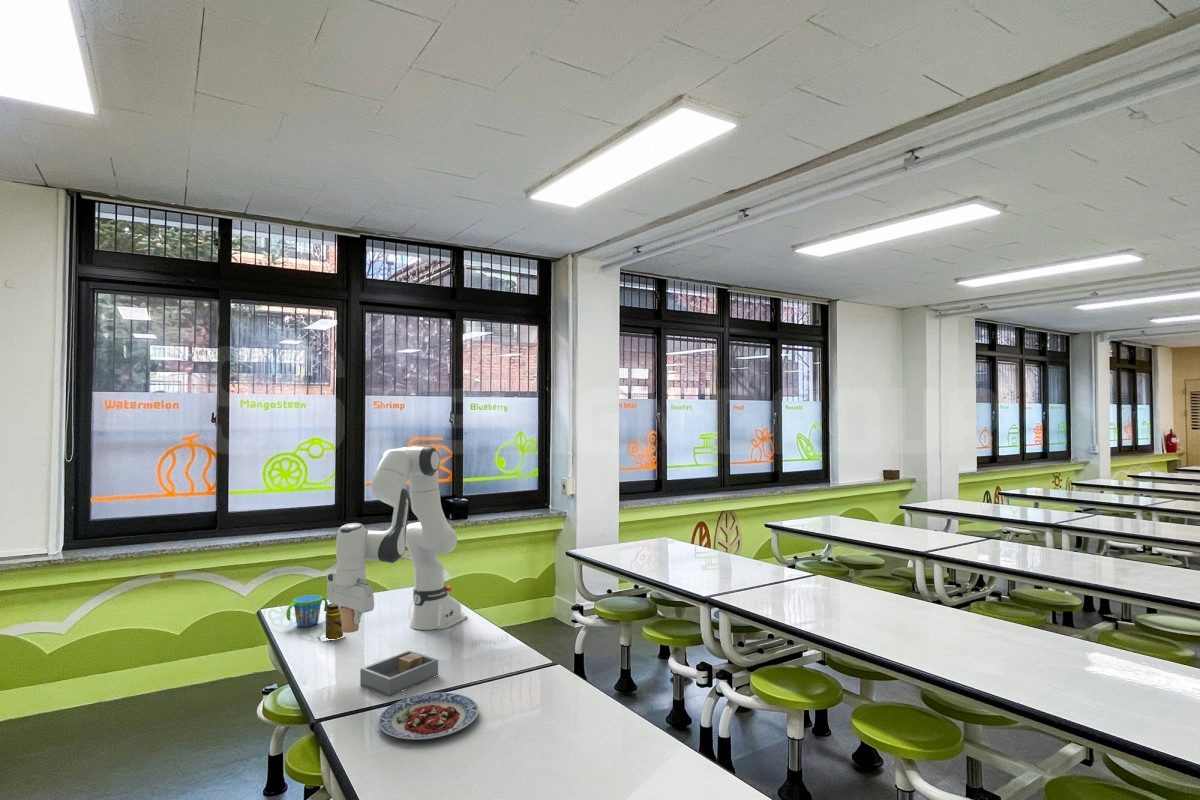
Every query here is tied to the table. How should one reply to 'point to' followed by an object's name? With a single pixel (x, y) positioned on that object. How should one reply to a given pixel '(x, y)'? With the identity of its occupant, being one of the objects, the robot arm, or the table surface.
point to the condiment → (333, 622)
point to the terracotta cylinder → (348, 621)
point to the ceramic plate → (428, 716)
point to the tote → (396, 674)
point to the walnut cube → (409, 662)
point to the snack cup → (307, 609)
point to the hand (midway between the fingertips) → (350, 621)
